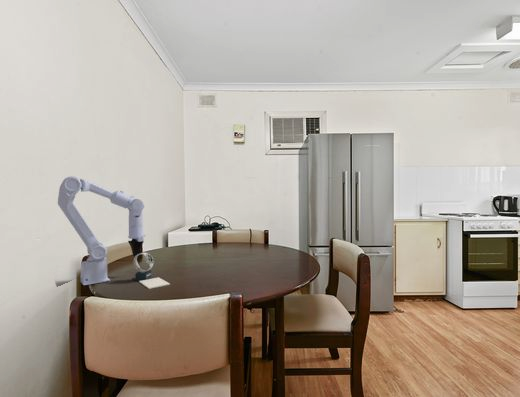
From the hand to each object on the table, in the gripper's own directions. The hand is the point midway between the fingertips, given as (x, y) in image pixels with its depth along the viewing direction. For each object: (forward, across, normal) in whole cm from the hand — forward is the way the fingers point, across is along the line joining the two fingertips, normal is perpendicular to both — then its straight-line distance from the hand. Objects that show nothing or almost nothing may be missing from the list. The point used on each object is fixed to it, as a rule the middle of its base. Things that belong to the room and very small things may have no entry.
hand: (136, 256), depth 124 cm
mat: (+8, -18, -2) cm, 20 cm away
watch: (+9, -9, 0) cm, 12 cm away
